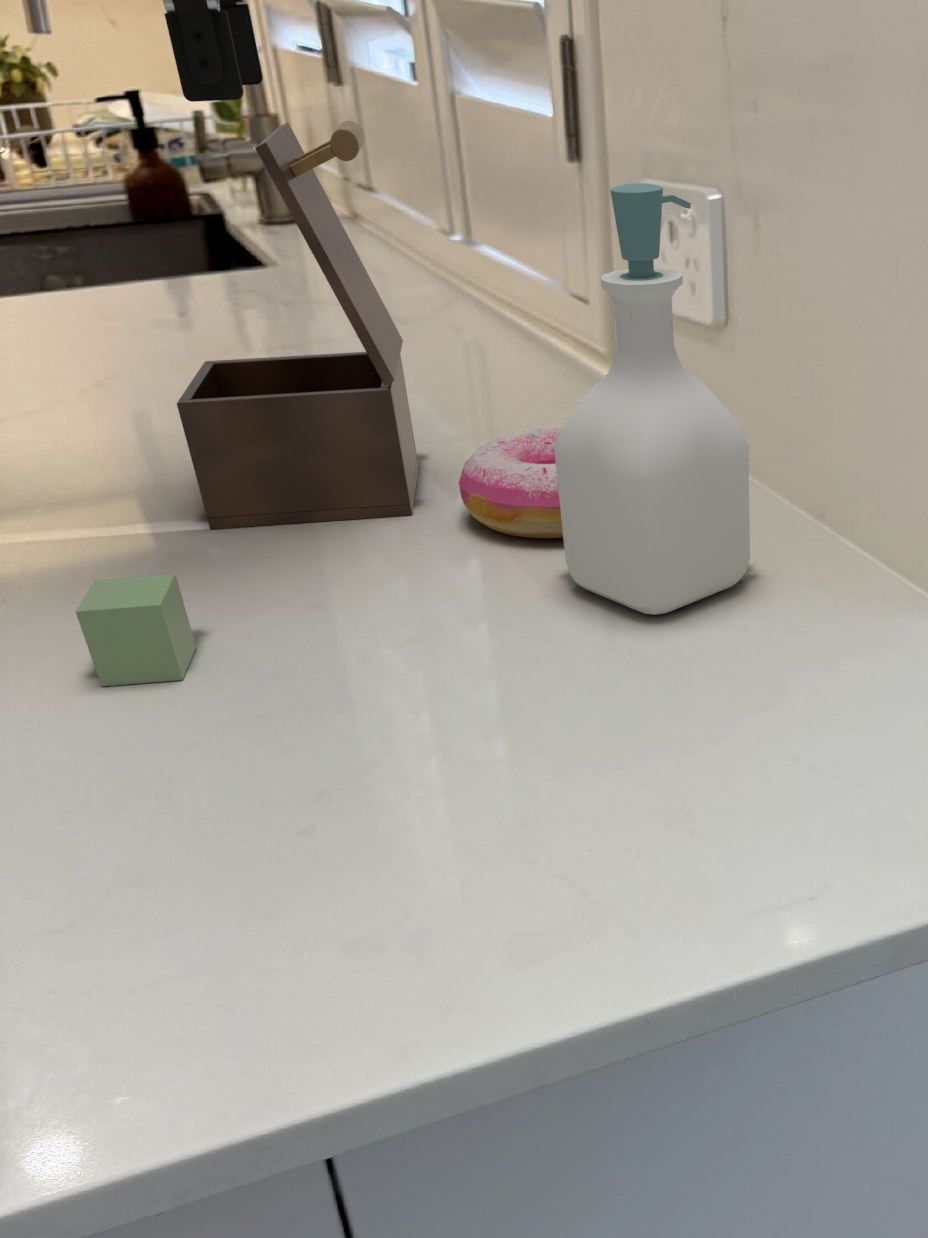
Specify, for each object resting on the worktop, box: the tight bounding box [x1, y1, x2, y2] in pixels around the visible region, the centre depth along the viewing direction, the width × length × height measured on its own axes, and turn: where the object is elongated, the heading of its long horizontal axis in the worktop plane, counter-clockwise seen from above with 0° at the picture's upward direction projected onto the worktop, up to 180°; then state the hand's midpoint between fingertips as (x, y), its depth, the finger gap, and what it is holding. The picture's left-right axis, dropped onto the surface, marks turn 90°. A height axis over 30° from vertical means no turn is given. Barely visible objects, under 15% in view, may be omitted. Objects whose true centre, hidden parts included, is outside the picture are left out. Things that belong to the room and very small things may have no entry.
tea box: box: [176, 351, 420, 530], centre depth 99 cm, size 15×12×9 cm
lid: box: [254, 120, 404, 385], centre depth 91 cm, size 15×12×6 cm
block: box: [75, 573, 197, 687], centre depth 77 cm, size 5×5×5 cm
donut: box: [458, 426, 563, 539], centre depth 95 cm, size 14×13×5 cm
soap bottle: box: [555, 182, 751, 616], centre depth 79 cm, size 10×10×23 cm
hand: (226, 92), depth 78 cm, fingers open, 9 cm apart
